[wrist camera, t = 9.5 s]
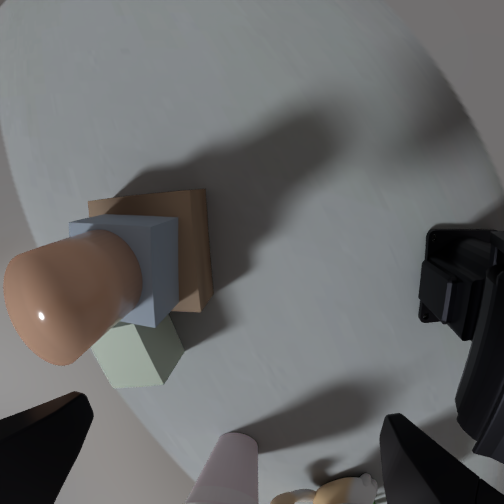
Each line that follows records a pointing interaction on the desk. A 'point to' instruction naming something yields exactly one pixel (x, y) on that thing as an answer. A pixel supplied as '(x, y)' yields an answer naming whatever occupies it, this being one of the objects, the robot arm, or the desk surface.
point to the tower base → (189, 237)
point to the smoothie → (229, 473)
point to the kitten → (335, 492)
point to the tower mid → (145, 260)
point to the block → (138, 354)
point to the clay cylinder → (71, 293)
